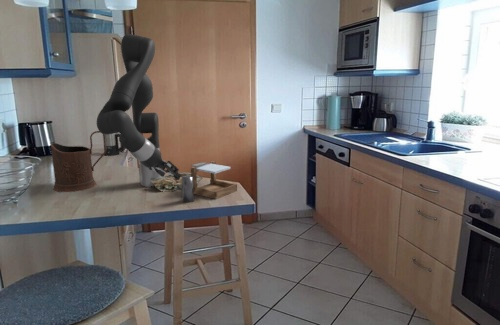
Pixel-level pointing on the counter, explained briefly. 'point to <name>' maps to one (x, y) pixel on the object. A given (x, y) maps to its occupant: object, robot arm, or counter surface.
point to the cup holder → (73, 167)
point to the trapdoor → (210, 167)
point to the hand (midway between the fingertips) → (171, 176)
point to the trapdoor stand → (212, 186)
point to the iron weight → (187, 189)
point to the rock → (171, 182)
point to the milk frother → (112, 144)
